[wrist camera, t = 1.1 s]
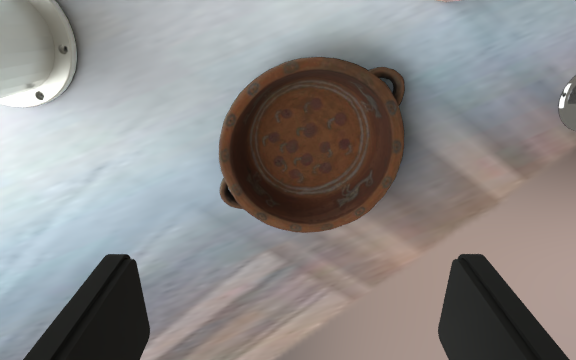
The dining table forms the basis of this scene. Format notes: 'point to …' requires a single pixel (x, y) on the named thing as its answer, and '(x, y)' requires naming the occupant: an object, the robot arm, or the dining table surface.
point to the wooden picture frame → (448, 0)
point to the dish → (312, 143)
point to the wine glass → (568, 105)
